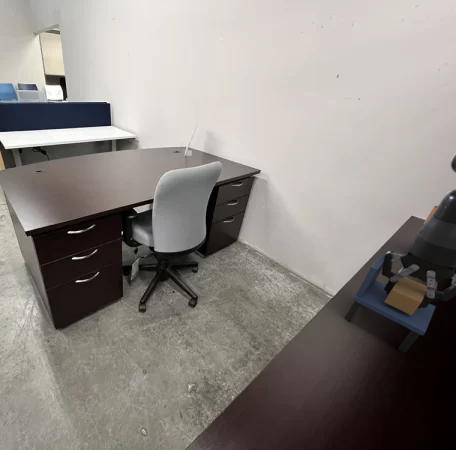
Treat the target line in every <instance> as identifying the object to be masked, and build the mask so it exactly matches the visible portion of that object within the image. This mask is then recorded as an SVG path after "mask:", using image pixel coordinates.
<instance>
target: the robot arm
mask: <svg viewBox="0 0 456 450" xmlns="http://www.w3.org/2000/svg"><path fill="white" fill-rule="evenodd" d="M449 165H450V168H451V170H452V171H453V172H454V173H455V174H456V152H455V153H453V155H452V156H451V159H450V164H449ZM436 206H437V208H436V209H435V211H434V213H433V214H432V216H431V217H430V218H429V219H428V220H427V222H426V223H425V224H424V223H423V224H424V226H423V227H422V226H421V227H422V229H420V228H419V230H420V231H419V230H418V232H419V234H418V235H417V234H416V235H417V237H416V236H415V237H416V239H415V240H414V239H413V240H414V242H413V243H412V242H411V243H412V245H411V244H410V245H411V247H410V248H409V247H408V248H409V250H408V249H407V250H408V251H407V250H406V252H404V253H402V254H401V253H397V252H394V251H393V250H388V251H386V252H387V253H386V254H385V257H384V263H383V269H382V270H381V276H383V277H386V278H387V279H388V281H387V283H386V286H385V288H384V290H385V291H387V292H386V294H388V295H389V293H390V292H391V290H392V289H393V287H394V286H395V284H396V283H397V282H398V280H400V279H401V278H404V277H407V276H408V277H411V278H414V279H418V280H420V281H421V282H424V283H426V286H427V292H426V293H425V295H424V298H423V300H422V302H421V304H420V305H419V306H418V308H419V309H420V308H421V307H422V308H426V307H427V306H428V305H429V304H431V302H433V300H436V299H437V300H440V301H442V302H447V301H449V300H451V299H452V298H454V297H456V189H455V188H454V189H451V190H448V191H447V192H446V193H445V194H444V195H443V197H442V198H441V200H440V202H439V203H438V204H437V205H436ZM398 260H400V262H401V265H402V267H401V268H400V269H399V270H398V271H396V272H393V271H392V269H393V264H394V263H396V262H397V261H398ZM448 279H452V280H451V282H450V283H451V285H450V286H449V287H448V288H446V289H444V290H443V291H440V290H438V282H439V281H444V280H448Z"/></svg>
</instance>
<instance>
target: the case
mask: <svg viewBox="0 0 456 450" xmlns="http://www.w3.org/2000/svg"><path fill="white" fill-rule="evenodd" d="M426 292H427V284H423V283H421V282H419V281H416V280H413V279H411V278H408V277H407V276H405V277H404V278H401V279H400V280H398V282H397V283H396V284H395V286H394V287H393V289H392V290H391V292H390V293H389V295H388V296H387V298H386V299H385V301H384V302H385V303H387V304H389V305H391V306H393V307H395V308H397V309H399V310H402V311H404V312H406V313H408V314H410V315H412V314H413V313H414V312H415V310H416V309H417V308H418V306H419V305H420V304H421V302H422V300H423V298H424V295H425V293H426Z"/></svg>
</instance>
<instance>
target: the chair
mask: <svg viewBox="0 0 456 450" xmlns="http://www.w3.org/2000/svg"><path fill="white" fill-rule="evenodd" d="M387 252H388V251H384V252H383V254H382V255H381V256H380V257H378V259H377V260H376V261H375V262H374V263H373V264H372V266H371V267H370V268H369V270H368V272H367V273H366V275H365V277H364V279H363V281H362V282H361V284H360V286H359V288H358V289H357V291H356V293H355V295H354V296H353V297H352V300H353V302H352V304H351V306H350V308H349V310H348V311H347V313H346V315H345V317H344V320H345V321H346V322H349V323H350V322H351V321H352V320H353V317H354V316H355V314H356V313H357V310H358V309H359V307H360V306H361V305H362V306H364V307H366V308H368V309H370V310H372V311H374V312H375V313H378V314H380V315H381V316H383V317H385V318H387V319H389V320H390V321H392V322H394V323H397V324H399V325H401V326H403V327H404V328H406V329H407V330H410V332H409V334H408V335H407V336H406V337H405V338H404V340H403V341H402V342H401V344H400V345H399V347H398V348H397V350H398V351H400V352H401V353H403V354H405V353H407V351H408V350H409V349H410V347H411V346H412V345H413V344H414V342H415V341H416V340H417V339H418V337H419V336H424V335H426V332H427V329H428V327H429V324H430V322H431V320H432V317H433V315H434V312H435V309H436V307H437V306H436V305H434V304H431V303H430V304H429V305H428V306H427V307H426V308H422V307H421V308H420V309H419V308H417V309H416V310H415V312H414V313H413V314H412V315H410V314H408V313H406V312H404V311H402V310H399V309H397V308H395V307H393V306H391V305H389V304H387V303H385V302H384V301H385V299H386V298H387V296H388V294H386V292H387V291H385V290H384V288H385V286H386V285H387V283H383V282H382V281H379V280H377V279H378V277H379V275H380V274H381V273H382V269H383V263H384V257H385V254H386V253H387Z"/></svg>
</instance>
